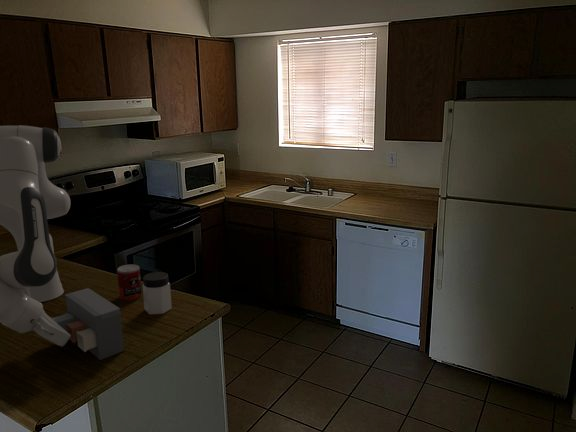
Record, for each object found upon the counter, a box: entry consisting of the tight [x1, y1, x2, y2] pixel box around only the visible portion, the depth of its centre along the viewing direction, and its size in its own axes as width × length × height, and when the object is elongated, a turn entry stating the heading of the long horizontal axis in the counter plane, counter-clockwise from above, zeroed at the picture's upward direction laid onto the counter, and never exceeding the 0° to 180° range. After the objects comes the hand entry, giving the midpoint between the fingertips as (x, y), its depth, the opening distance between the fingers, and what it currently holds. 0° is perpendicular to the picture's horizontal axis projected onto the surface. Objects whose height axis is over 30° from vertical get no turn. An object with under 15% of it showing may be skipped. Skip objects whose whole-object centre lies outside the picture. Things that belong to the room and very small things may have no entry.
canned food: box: [116, 263, 143, 302], centre depth 174 cm, size 8×8×11 cm
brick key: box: [66, 320, 86, 344], centre depth 139 cm, size 8×4×4 cm, turn 135°
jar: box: [142, 271, 173, 315], centre depth 163 cm, size 9×8×12 cm
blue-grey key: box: [50, 313, 76, 331], centre depth 142 cm, size 8×4×4 cm, turn 135°
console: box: [64, 287, 125, 361], centre depth 141 cm, size 7×21×13 cm, turn 45°
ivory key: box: [76, 328, 97, 353], centre depth 135 cm, size 8×4×4 cm, turn 135°
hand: (67, 336), depth 137 cm, fingers closed, pressing on brick key
